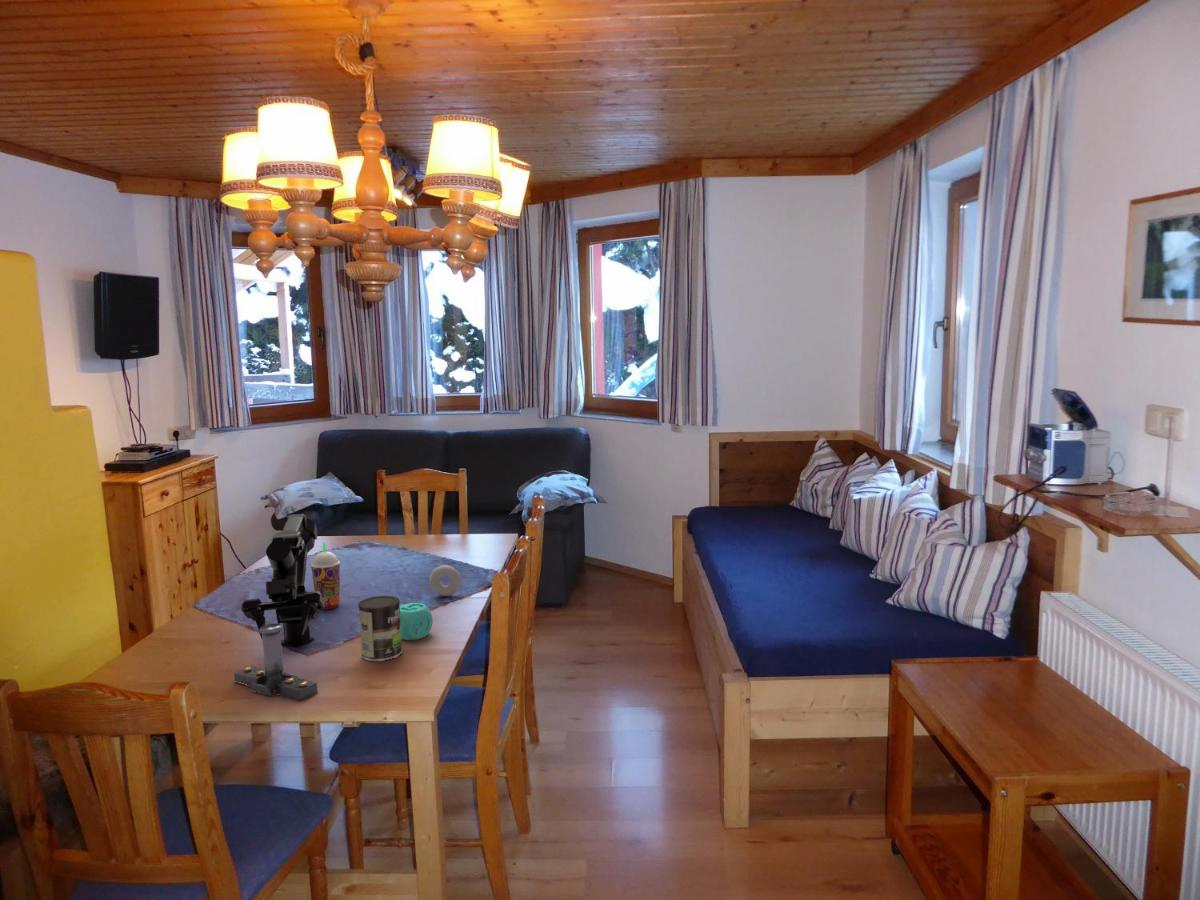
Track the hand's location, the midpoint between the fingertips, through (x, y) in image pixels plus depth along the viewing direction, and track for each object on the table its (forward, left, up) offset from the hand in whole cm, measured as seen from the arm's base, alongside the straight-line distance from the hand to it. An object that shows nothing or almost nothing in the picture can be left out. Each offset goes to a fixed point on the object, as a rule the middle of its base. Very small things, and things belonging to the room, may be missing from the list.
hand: (282, 637), depth 206 cm
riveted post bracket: (+5, -7, -9) cm, 12 cm away
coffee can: (+13, +20, -10) cm, 26 cm away
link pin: (+5, -7, -9) cm, 12 cm away
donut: (-3, +65, -10) cm, 66 cm away
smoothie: (-29, +41, -10) cm, 52 cm away
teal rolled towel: (+11, +34, -10) cm, 37 cm away
